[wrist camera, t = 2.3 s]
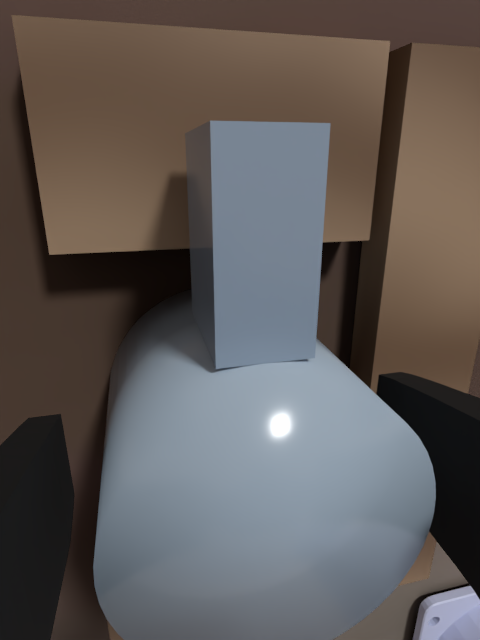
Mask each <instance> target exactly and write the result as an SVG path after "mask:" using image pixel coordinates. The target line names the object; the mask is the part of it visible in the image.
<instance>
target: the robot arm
mask: <svg viewBox="0 0 480 640" xmlns="http://www.w3.org/2000/svg"><path fill="white" fill-rule="evenodd" d="M376 395H377V396H378V397H380V398H381V399H382V400H383V401H384V402H385V403H386V404H387V405H388V406H389V407H390V408H391V409H392V410H393V411H394V412H395V413H396V414H398V415H399V416H400V417H401V418H402V419H403V420H404V421H405V422H406V423H407V424H408V425H409V426H410V427H411V429H412V430H413V431H414V432H415V433H416V434H417V435H418V437H419V438H420V440H421V442H422V443H423V445H424V447H425V448H426V450H427V452H428V455H429V458H430V460H431V463H432V466H433V471H434V476H435V482H436V501H435V508H434V515H433V519H432V523H431V526H430V530H429V532H430V533H431V535H432V536H433V537H434V538H435V540H436V541H437V542H438V543H439V545H440V546H441V547H442V549H443V550H444V551H445V552H446V554H447V555H448V556H449V557H450V559H451V560H452V561H453V563H454V564H455V565H456V566H457V568H458V569H459V570H460V572H461V573H462V575H463V576H464V577H465V579H466V580H467V581H468V583H469V584H470V585H469V586H466V587H462V588H458V589H454V590H450V591H446V592H442V593H438V594H434V595H431V596H428V597H427V598H425V599H424V600H423V601H422V602H421V604H420V607H419V612H418V617H417V621H416V626H415V631H414V636H413V640H480V398H478V397H475V396H472V395H470V394H467V393H464V392H462V391H459V390H456V389H453V388H451V387H448V386H445V385H443V384H440V383H437V382H434V381H431V380H428V379H425V378H422V377H419V376H416V375H412V374H409V373H404V372H395V373H387V374H379V376H378V384H377V392H376ZM73 506H74V489H73V483H72V477H71V471H70V466H69V460H68V454H67V448H66V442H65V436H64V431H63V425H62V419H61V414H57V415H49V416H41V417H33V418H28V419H27V420H26V421H25V422H24V423H23V424H21V425H20V426H19V427H18V428H17V429H16V430H15V431H14V432H13V433H12V434H11V435H10V436H9V437H8V438H7V439H6V440H5V441H4V442H3V443H2V444H1V445H0V640H50V638H51V633H52V629H53V624H54V619H55V614H56V610H57V605H58V600H59V595H60V591H61V586H62V581H63V576H64V571H65V566H66V561H67V557H68V551H69V546H70V541H71V530H72V519H73Z"/></svg>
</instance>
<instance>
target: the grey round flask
mask: <svg viewBox="0 0 480 640" xmlns="http://www.w3.org/2000/svg"><path fill="white" fill-rule="evenodd" d="M330 124H331V123H302V122H254V121H208V122H206V123H204V124H202V125H201V126H199V127H197V128H195V129H193V130H191V131H189V132H187V133H185V144H186V168H187V192H188V216H189V240H190V264H191V288H192V289H190V290H186V291H183V292H181V293H178V294H176V295H173V296H171V297H169V298H167V299H166V300H164V301H162V302H160V303H158V304H157V305H156V306H154V307H153V308H152V309H150V310H149V311H147V312H146V313H145V314H144V315H143V316H142V317H141V318H140V319H139V320H138V321H137V322H136V323H135V324H134V325H133V326H132V328H131V329H130V330H129V331H128V333H127V334H126V336H125V337H124V339H123V341H122V342H121V344H120V346H119V348H118V351H117V353H116V355H115V358H114V361H113V365H112V369H111V376H110V385H109V396H108V407H107V419H106V430H105V441H104V452H103V463H102V474H101V486H100V497H99V508H98V519H97V530H96V541H95V553H94V564H93V572H94V586H95V590H96V594H97V598H98V601H99V605H100V607H101V609H102V611H103V613H104V615H105V617H106V619H107V620H108V622H109V623H110V624H111V626H112V627H113V628H114V630H115V631H116V632H117V634H118V635H120V636H121V637H122V638H123V639H124V640H332V639H334V638H336V637H337V636H339V635H341V634H342V633H344V632H346V631H347V630H349V629H350V628H351V627H353V626H354V625H356V624H357V623H358V622H360V621H361V620H363V619H364V618H365V617H366V616H367V615H369V614H370V613H371V612H372V611H373V610H374V609H376V608H377V607H378V606H379V605H380V604H381V603H382V602H383V601H384V600H385V599H386V598H387V597H388V596H389V595H390V594H391V593H392V592H393V591H394V589H395V588H396V587H397V586H398V585H399V583H400V582H401V581H402V580H403V579H404V577H405V576H406V574H407V573H408V571H409V570H410V568H411V567H412V565H413V564H414V562H415V561H416V559H417V557H418V555H419V553H420V551H421V549H422V548H423V545H424V543H425V540H426V538H427V535H428V533H429V530H430V526H431V523H432V519H433V515H434V508H435V501H436V482H435V476H434V471H433V466H432V463H431V460H430V458H429V455H428V452H427V450H426V448H425V447H424V445H423V443H422V442H421V440H420V438H419V437H418V435H417V434H416V433H415V432H414V431H413V430H412V429H411V427H410V426H409V425H408V424H407V423H406V422H405V421H404V420H403V419H402V418H401V417H400V416H399V415H398V414H396V413H395V412H394V411H393V410H392V409H391V408H390V407H389V406H388V405H387V404H386V403H385V402H384V401H383V400H382V399H381V398H380V397H378V396H377V395H376V394H375V393H374V392H373V391H372V390H371V389H370V388H369V387H368V386H367V385H366V384H365V383H364V382H363V381H361V380H360V379H359V378H358V377H357V376H356V375H355V374H354V373H353V372H352V371H351V370H350V369H349V368H348V367H347V366H346V365H345V364H343V363H342V362H341V361H340V360H339V359H338V358H337V357H336V356H335V355H334V354H333V353H332V352H331V351H330V350H329V349H328V348H327V347H325V346H324V345H323V344H322V343H321V342H320V341H319V340H318V339H317V338H316V334H317V319H318V304H319V289H320V274H321V259H322V244H323V229H324V214H325V199H326V184H327V169H328V154H329V139H330Z"/></svg>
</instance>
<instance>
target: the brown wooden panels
mask: <svg viewBox="0 0 480 640" xmlns="http://www.w3.org/2000/svg"><path fill="white" fill-rule="evenodd" d="M12 21H13V27H14V34H15V40H16V46H17V53H18V59H19V65H20V72H21V78H22V84H23V91H24V97H25V103H26V110H27V116H28V123H29V129H30V135H31V142H32V148H33V154H34V161H35V167H36V173H37V180H38V186H39V192H40V199H41V205H42V211H43V218H44V224H45V230H46V237H47V243H48V249H49V255H56V254H78V253H100V252H122V251H144V250H166V249H188V248H190V240H189V216H188V192H187V168H186V144H185V133H187V132H189V131H191V130H193V129H195V128H197V127H199V126H201V125H202V124H204V123H206V122H208V121H254V122H302V123H331V124H330V139H329V154H328V169H327V184H326V199H325V214H324V229H323V242H343V241H362V249H361V259H360V269H359V279H358V289H357V299H356V309H355V319H354V329H353V339H352V349H351V359H350V370H351V371H352V372H353V373H354V374H355V375H356V376H357V377H358V378H359V379H360V380H361V381H363V382H364V383H365V384H366V385H367V386H368V387H369V388H370V389H371V390H372V391H373V392H374V393H375V394H376V392H377V384H378V376H379V374H387V373H395V372H404V373H409V374H412V375H416V376H419V377H422V378H425V379H428V380H431V381H434V382H437V383H440V384H443V385H445V386H448V387H451V388H453V389H456V390H459V391H462V392H464V393H467V394H468V390H469V386H470V381H471V376H472V371H473V367H474V362H475V357H476V353H477V348H478V343H479V338H480V47H466V46H452V45H437V44H423V43H410V44H408V45H406V46H403V47H401V48H399V49H396V50H394V51H391V52H389V49H390V41H379V40H365V39H350V38H336V37H321V36H307V35H293V34H278V33H264V32H249V31H235V30H220V29H206V28H191V27H177V26H162V25H148V24H133V23H119V22H104V21H90V20H75V19H61V18H47V17H32V16H18V15H12ZM435 546H436V540H435V538H434V537H433V536H432V535H431V533H430V532H429V533H428V535H427V538H426V540H425V543H424V545H423V548H422V549H421V551H420V553H419V555H418V557H417V559H416V561H415V562H414V564H413V565H412V567H411V568H410V570H409V571H408V573H407V574H406V576H405V577H404V579H403V580H402V581H401V582H400V583H399V585H398V586H400V585H404V584H408V583H412V582H416V581H420V580H424V579H428V578H429V574H430V570H431V565H432V560H433V555H434V551H435ZM107 624H108V630H109V637H110V640H124V639H123V638H122V637H121V636H120V635H118V634H117V632H116V631H115V630H114V628H113V627H112V626H111V624H110V623H109V622H108V620H107Z"/></svg>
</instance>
